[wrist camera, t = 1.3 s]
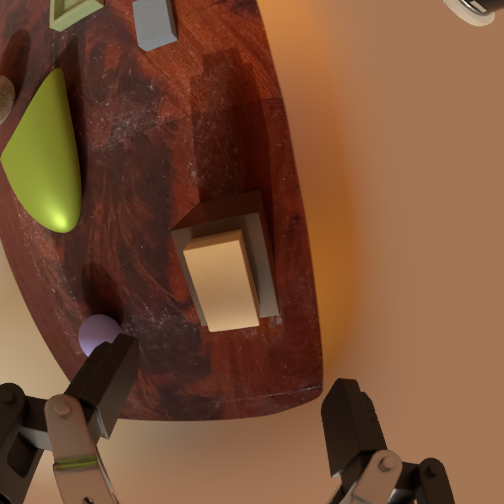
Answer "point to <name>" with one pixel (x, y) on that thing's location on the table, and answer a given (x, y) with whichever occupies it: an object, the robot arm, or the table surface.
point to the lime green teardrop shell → (46, 158)
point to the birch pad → (223, 280)
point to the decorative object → (6, 97)
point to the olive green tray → (71, 11)
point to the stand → (255, 236)
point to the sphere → (97, 332)
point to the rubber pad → (154, 23)
